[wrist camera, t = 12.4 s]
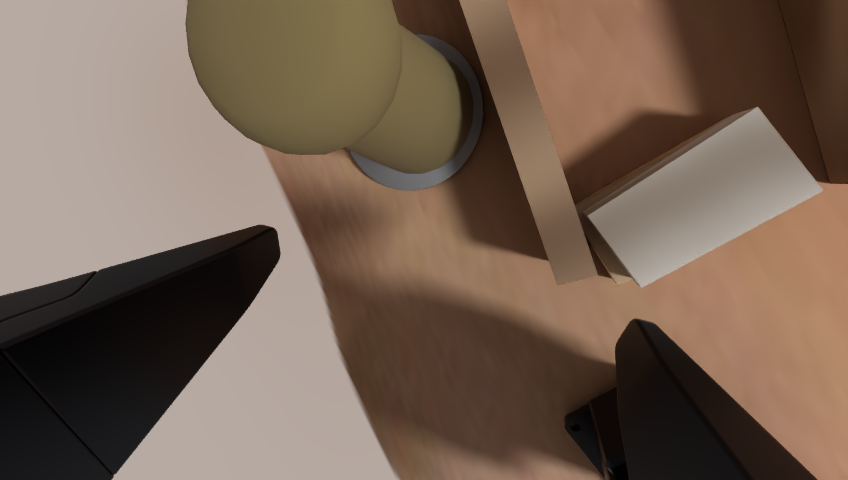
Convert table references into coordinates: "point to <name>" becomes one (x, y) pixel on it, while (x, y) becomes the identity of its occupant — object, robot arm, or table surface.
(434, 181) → the slate pad
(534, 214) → the brown wooden rectangular frame
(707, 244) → the light grey rectangular block
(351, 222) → the table surface
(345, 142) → the olive knobbed peg
